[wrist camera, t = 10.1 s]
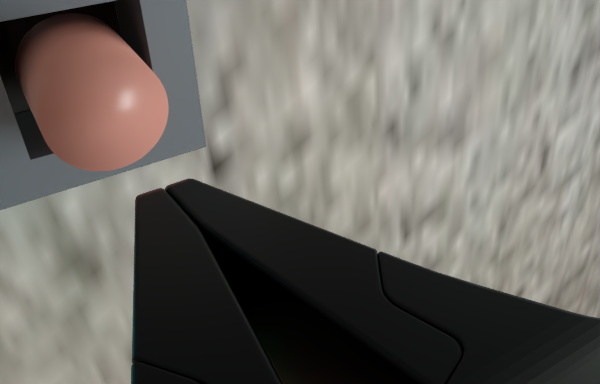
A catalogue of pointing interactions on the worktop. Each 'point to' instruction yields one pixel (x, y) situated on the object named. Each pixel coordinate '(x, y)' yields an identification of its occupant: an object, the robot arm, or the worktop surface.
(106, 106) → the button
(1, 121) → the button housing
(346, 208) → the worktop surface
